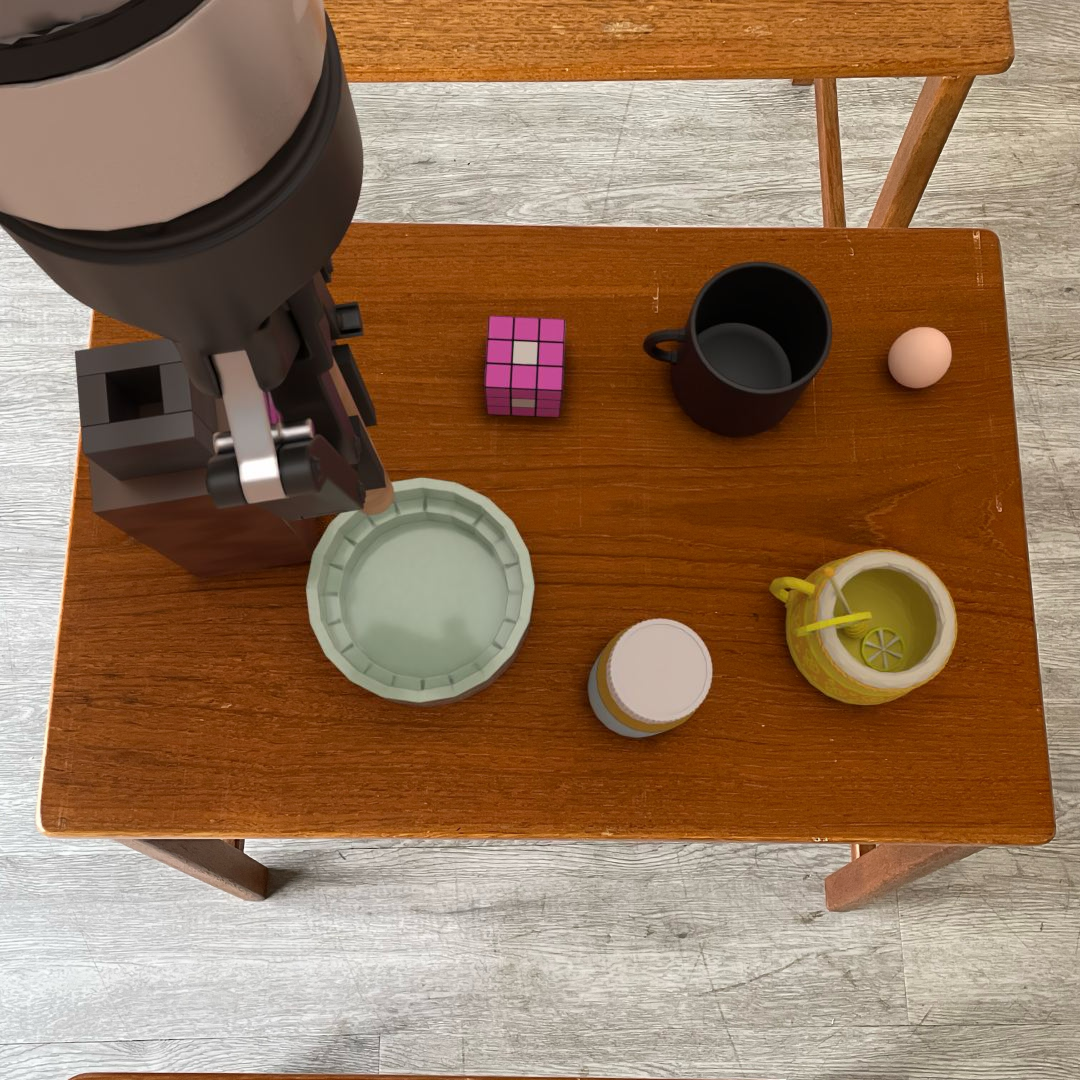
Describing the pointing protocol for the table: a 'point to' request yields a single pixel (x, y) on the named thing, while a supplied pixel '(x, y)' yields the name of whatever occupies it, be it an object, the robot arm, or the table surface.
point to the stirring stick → (379, 497)
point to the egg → (919, 357)
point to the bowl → (422, 594)
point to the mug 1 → (747, 347)
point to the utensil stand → (170, 464)
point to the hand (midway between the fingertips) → (347, 452)
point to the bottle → (650, 678)
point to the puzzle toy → (524, 366)
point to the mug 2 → (869, 625)
